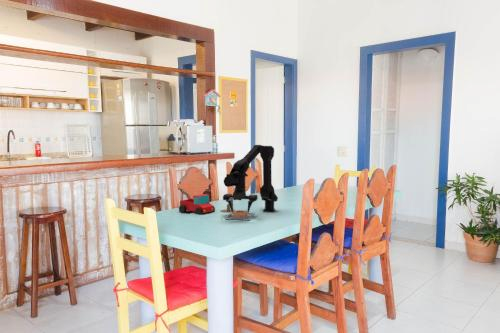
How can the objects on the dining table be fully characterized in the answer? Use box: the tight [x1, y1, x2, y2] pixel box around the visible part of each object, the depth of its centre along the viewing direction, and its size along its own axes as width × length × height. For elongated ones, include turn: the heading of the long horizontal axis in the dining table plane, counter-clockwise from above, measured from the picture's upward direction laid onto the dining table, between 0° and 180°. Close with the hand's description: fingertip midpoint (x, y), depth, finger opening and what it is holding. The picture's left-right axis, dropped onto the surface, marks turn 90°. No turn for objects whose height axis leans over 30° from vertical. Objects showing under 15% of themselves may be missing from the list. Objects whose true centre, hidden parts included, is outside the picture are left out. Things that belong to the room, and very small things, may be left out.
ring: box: [232, 209, 248, 218], centre depth 218 cm, size 8×7×3 cm
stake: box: [220, 203, 236, 214], centre depth 232 cm, size 10×10×5 cm
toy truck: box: [178, 193, 216, 216], centre depth 232 cm, size 12×20×11 cm, turn 51°
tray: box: [225, 212, 255, 222], centre depth 219 cm, size 14×14×2 cm
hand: (240, 212), depth 219 cm, fingers open, 9 cm apart
